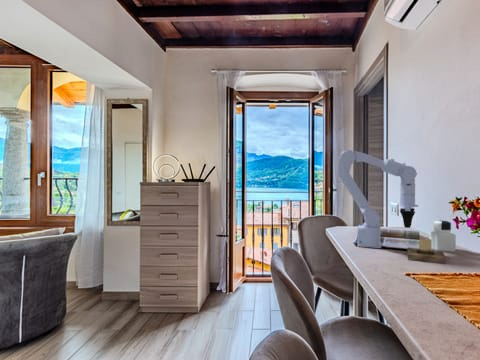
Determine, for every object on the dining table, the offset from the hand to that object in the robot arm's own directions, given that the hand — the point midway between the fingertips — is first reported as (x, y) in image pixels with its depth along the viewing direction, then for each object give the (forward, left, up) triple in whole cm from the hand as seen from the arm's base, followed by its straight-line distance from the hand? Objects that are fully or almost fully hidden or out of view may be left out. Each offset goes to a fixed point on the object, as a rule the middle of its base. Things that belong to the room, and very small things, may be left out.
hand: (407, 226), depth 139 cm
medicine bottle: (+13, +3, -10) cm, 16 cm away
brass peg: (+6, -14, -9) cm, 18 cm away
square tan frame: (+6, -14, -9) cm, 18 cm away
